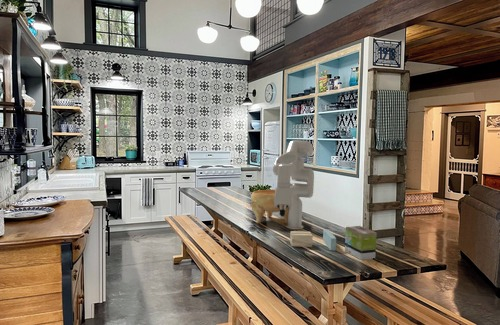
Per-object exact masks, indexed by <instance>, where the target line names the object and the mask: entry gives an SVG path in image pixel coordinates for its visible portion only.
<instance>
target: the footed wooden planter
mask: <svg viewBox="0 0 500 325" xmlns="http://www.w3.org/2000/svg"><path fill="white" fill-rule="evenodd" d="M274 195H275V189H261V190H259V189H258V190H255V191H254V190H253V191H252V193H251V194H250V200H251V204H250V205H249V206H250V208H251V209H252V213H254V216H255V218H256V220H255V221H256V223H257V224H261V222H262V221H263V220H262V219H263V217H264V215H265V214H266V217H267V218H271V217H272V216H273V213H280V209H279V208H278V207H276V206H274ZM277 205H278V204H277ZM281 206H282V209H283V207H284V205H281ZM288 213H289V207H288V208H286V210H285V215H284V217H283V220H284V223H286V224H288Z"/></svg>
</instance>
